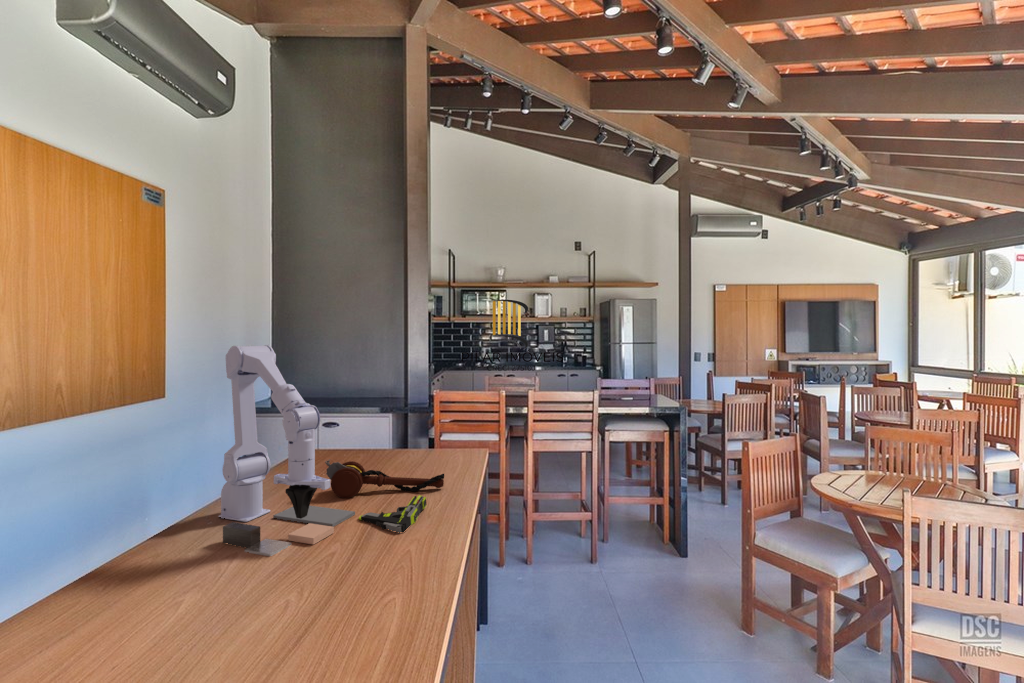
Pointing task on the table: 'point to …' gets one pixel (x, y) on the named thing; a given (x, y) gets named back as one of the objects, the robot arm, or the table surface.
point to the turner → (251, 539)
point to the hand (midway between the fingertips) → (301, 516)
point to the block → (310, 533)
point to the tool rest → (317, 515)
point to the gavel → (371, 479)
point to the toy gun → (397, 516)
